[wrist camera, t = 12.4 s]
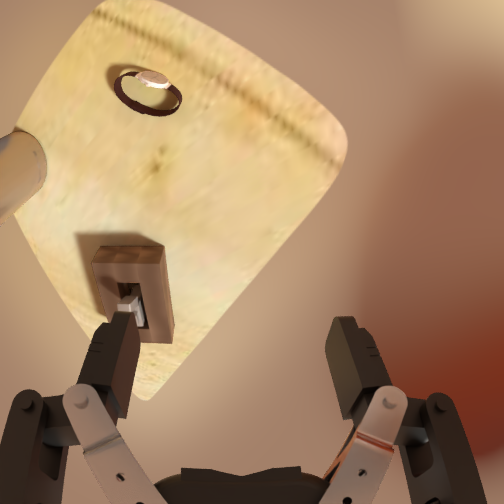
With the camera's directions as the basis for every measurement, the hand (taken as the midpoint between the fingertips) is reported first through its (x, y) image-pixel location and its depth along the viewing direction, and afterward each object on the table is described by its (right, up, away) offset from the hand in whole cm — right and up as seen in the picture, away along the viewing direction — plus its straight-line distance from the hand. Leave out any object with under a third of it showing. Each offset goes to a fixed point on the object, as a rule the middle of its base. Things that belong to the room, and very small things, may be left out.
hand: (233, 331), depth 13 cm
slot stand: (-16, -2, +33) cm, 36 cm away
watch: (-10, +21, +19) cm, 30 cm away
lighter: (-16, -2, +33) cm, 36 cm away
